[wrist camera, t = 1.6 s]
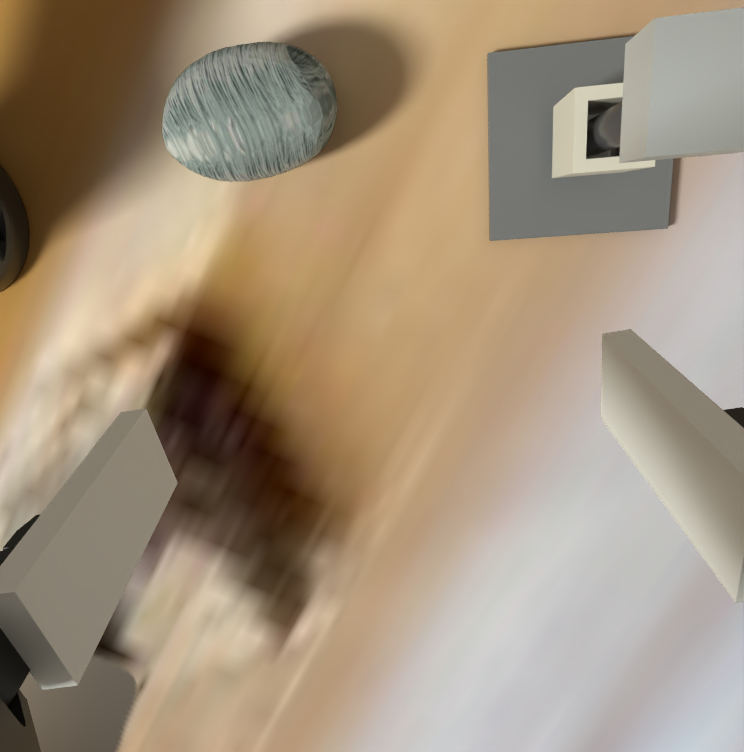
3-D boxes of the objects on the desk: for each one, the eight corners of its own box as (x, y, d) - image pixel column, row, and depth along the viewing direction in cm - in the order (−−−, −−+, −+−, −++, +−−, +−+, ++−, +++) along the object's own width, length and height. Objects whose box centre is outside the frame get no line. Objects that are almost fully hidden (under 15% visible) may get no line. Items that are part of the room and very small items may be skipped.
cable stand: (664, 228, 45) (882, 252, 22) (489, 240, 47) (532, 273, 24) (679, 33, 40) (964, -172, 18) (487, 55, 42) (536, -105, 20)
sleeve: (620, 172, 41) (654, 166, 34) (551, 178, 42) (572, 173, 35) (624, 99, 40) (661, 78, 33) (553, 106, 40) (575, 87, 34)
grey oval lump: (332, 5, 40) (280, 51, 33) (366, 135, 46) (328, 194, 40) (183, 44, 45) (112, 90, 38) (232, 156, 51) (179, 211, 45)
